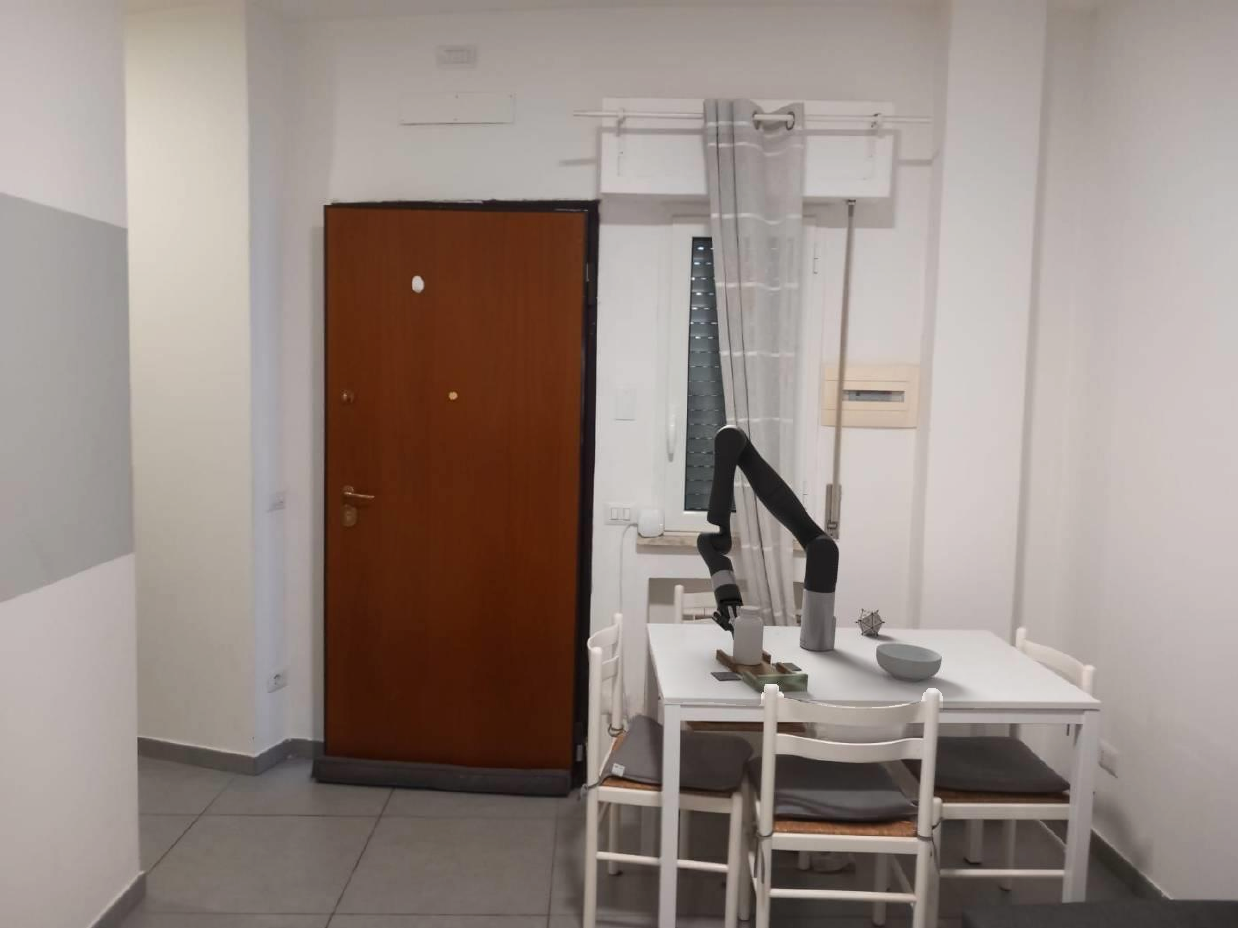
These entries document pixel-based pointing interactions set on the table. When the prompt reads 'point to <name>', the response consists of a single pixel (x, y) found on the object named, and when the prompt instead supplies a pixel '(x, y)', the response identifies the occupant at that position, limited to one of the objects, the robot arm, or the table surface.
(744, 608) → the pill bottle
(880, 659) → the cereal bowl
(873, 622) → the spiked polyhedron ball
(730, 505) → the robot arm
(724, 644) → the table surface
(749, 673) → the lane
